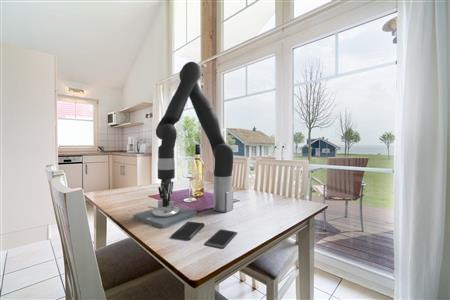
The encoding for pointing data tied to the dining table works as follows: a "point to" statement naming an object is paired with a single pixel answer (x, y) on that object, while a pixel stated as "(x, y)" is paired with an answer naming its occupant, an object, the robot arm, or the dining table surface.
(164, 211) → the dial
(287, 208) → the dining table surface
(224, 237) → the cell phone
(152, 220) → the dial base
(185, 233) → the phone
